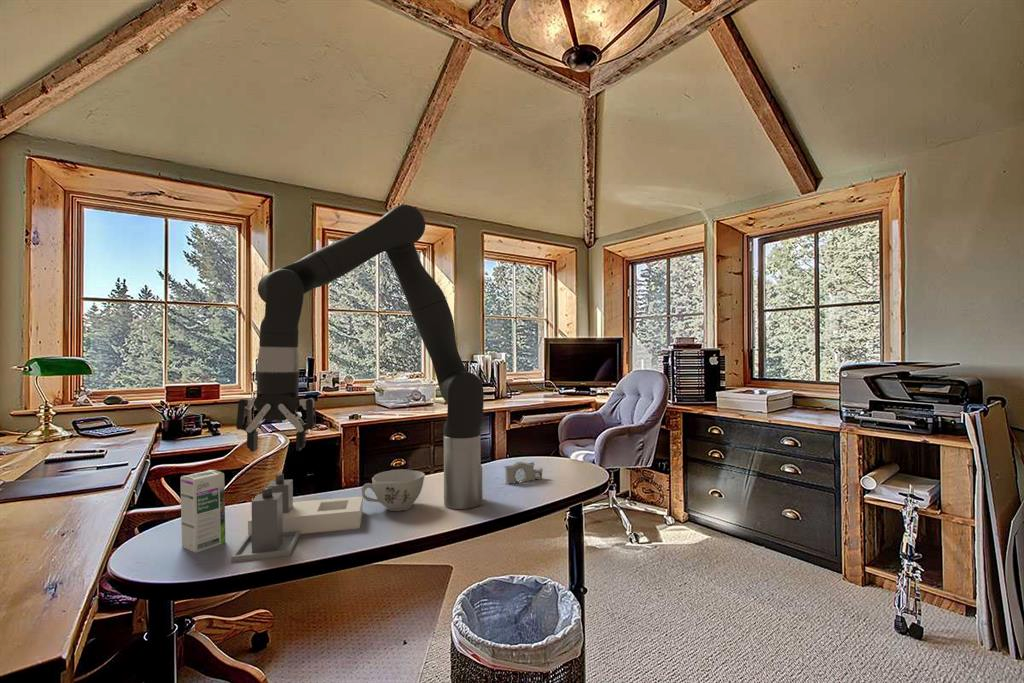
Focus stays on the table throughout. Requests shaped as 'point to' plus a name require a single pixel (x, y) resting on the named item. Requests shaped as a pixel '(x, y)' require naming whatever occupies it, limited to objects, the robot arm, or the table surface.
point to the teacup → (395, 488)
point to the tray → (284, 550)
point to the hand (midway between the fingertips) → (276, 450)
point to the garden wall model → (528, 473)
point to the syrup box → (202, 510)
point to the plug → (267, 521)
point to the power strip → (315, 511)
